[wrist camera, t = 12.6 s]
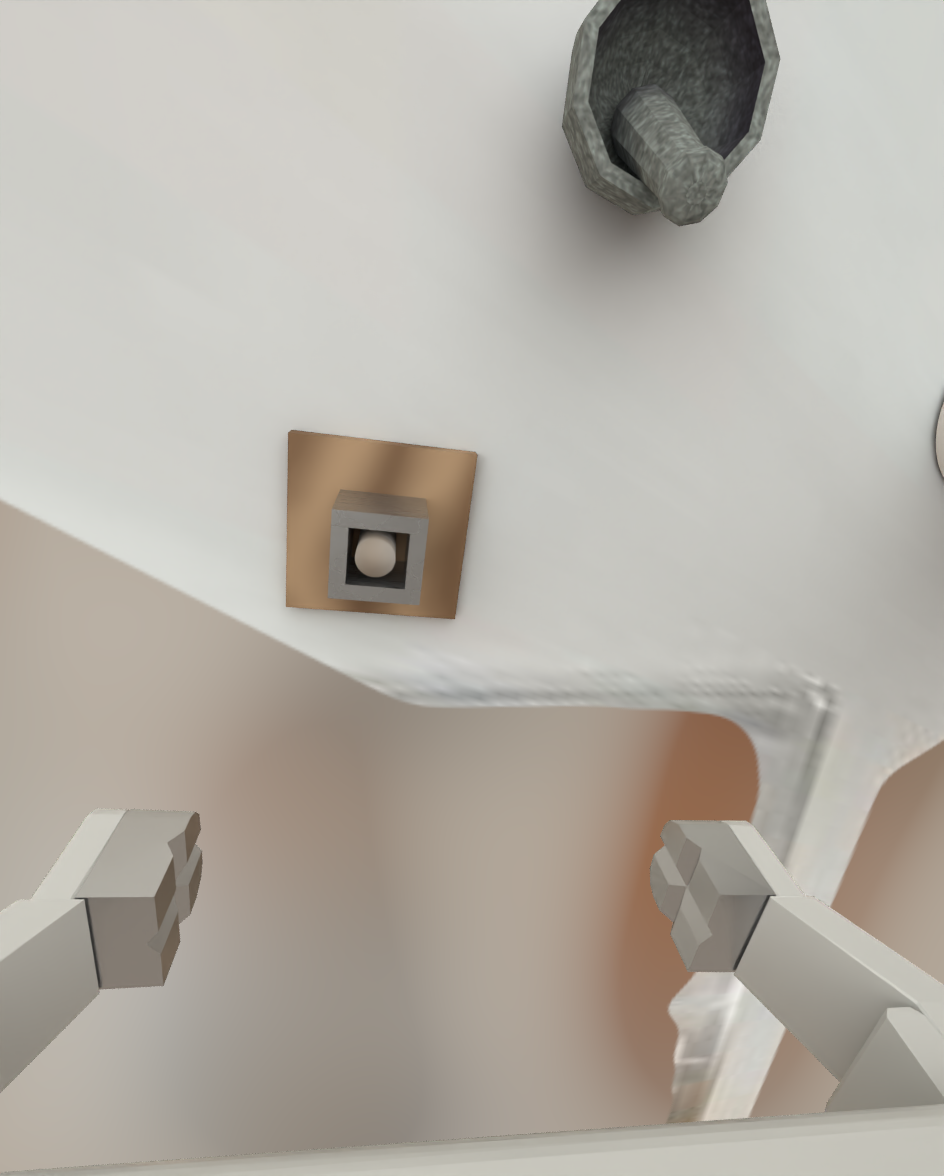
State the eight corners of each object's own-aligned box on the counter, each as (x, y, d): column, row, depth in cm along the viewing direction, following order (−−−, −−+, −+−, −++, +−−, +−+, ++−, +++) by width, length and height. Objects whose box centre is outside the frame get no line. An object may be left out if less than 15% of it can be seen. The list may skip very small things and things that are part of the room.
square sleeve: (425, 498, 38) (429, 519, 33) (417, 575, 40) (419, 605, 35) (340, 489, 37) (331, 509, 32) (336, 568, 39) (327, 598, 34)
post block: (475, 452, 38) (487, 470, 33) (453, 612, 43) (461, 652, 37) (291, 429, 36) (271, 445, 31) (289, 599, 41) (270, 640, 35)
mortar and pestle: (558, 3, 30) (649, -199, 19) (722, 38, 31) (899, -132, 20) (527, 249, 34) (587, 202, 23) (673, 270, 35) (796, 235, 24)
